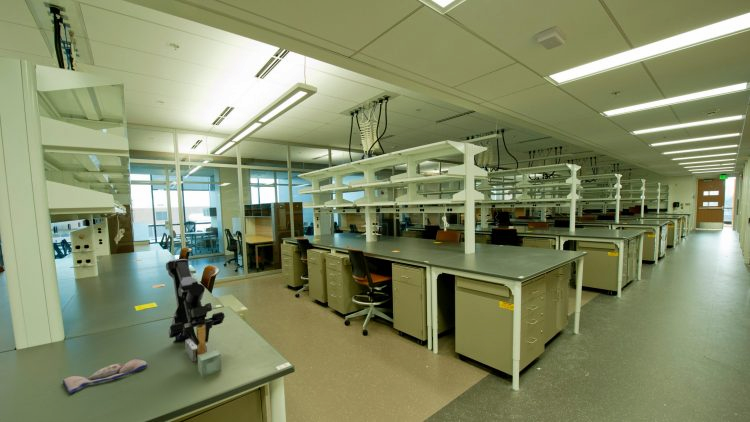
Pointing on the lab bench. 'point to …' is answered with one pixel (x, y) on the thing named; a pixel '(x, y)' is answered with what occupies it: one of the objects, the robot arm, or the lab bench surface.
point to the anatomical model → (104, 374)
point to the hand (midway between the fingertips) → (202, 343)
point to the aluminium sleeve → (191, 349)
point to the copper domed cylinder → (201, 340)
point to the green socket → (209, 363)
